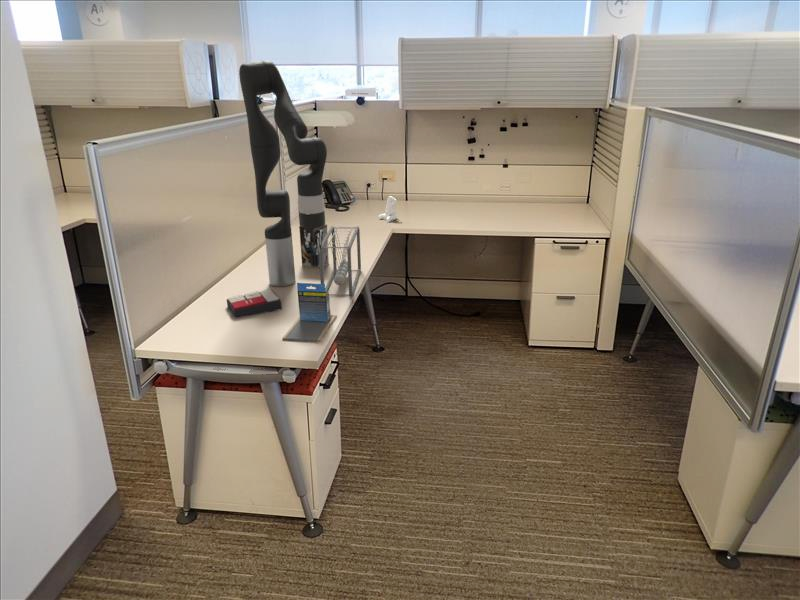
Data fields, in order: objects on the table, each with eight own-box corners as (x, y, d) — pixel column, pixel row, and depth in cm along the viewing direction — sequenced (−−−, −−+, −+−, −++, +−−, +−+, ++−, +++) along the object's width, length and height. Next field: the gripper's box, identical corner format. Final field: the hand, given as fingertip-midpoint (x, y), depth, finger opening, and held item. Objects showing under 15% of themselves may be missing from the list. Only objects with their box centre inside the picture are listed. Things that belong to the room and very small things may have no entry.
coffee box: (301, 266, 225) (298, 226, 219) (309, 261, 230) (306, 222, 224) (322, 268, 222) (319, 227, 216) (329, 263, 227) (327, 223, 221)
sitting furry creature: (377, 218, 295) (376, 195, 291) (391, 216, 300) (390, 193, 296) (388, 222, 288) (387, 198, 284) (401, 219, 293) (401, 196, 288)
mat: (302, 315, 179) (302, 313, 179) (336, 317, 178) (336, 315, 178) (282, 340, 163) (282, 337, 163) (319, 342, 161) (319, 340, 161)
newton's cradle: (334, 270, 220) (331, 224, 214) (361, 270, 220) (359, 224, 213) (321, 298, 192) (318, 247, 186) (352, 299, 192) (350, 248, 186)
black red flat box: (225, 297, 186) (270, 287, 192) (227, 309, 187) (272, 298, 193) (233, 308, 176) (280, 297, 183) (235, 321, 178) (282, 309, 184)
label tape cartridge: (331, 317, 176) (329, 279, 172) (327, 322, 173) (325, 284, 168) (303, 316, 177) (300, 278, 173) (299, 321, 174) (296, 282, 169)
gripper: (306, 203, 173) (310, 258, 180) (291, 214, 161) (296, 272, 168) (330, 204, 172) (333, 259, 178) (317, 215, 160) (320, 274, 166)
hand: (315, 265), depth 173 cm, fingers closed
